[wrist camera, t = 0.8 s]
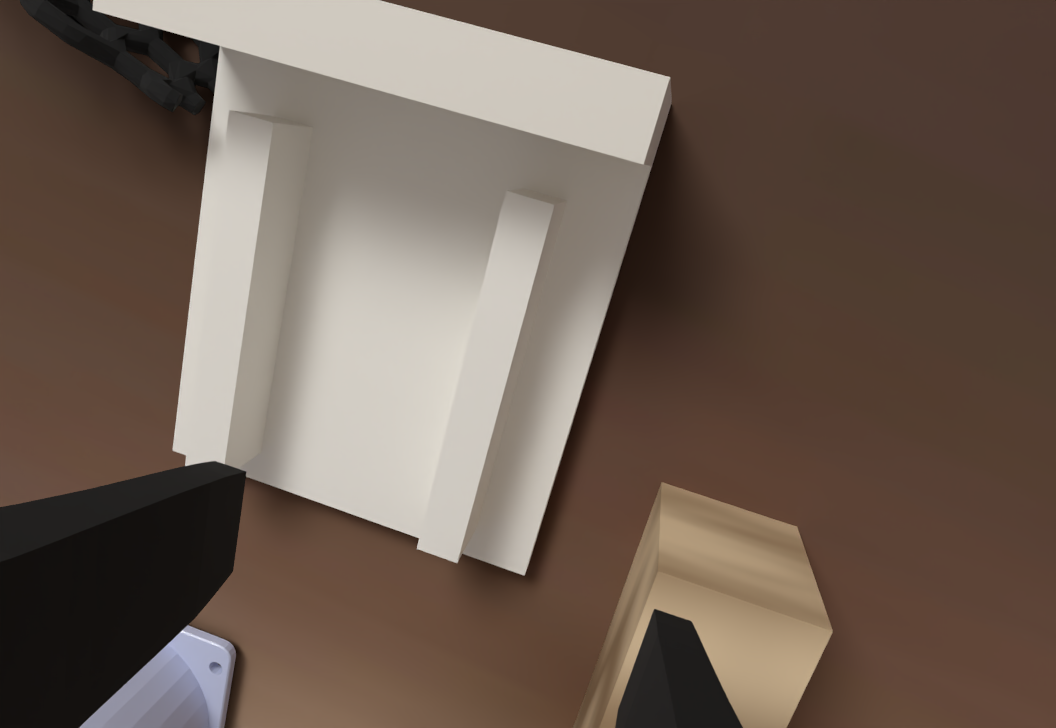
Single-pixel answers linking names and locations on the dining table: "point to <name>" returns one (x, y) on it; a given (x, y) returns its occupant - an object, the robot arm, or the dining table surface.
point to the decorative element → (72, 19)
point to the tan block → (719, 607)
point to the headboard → (403, 258)
